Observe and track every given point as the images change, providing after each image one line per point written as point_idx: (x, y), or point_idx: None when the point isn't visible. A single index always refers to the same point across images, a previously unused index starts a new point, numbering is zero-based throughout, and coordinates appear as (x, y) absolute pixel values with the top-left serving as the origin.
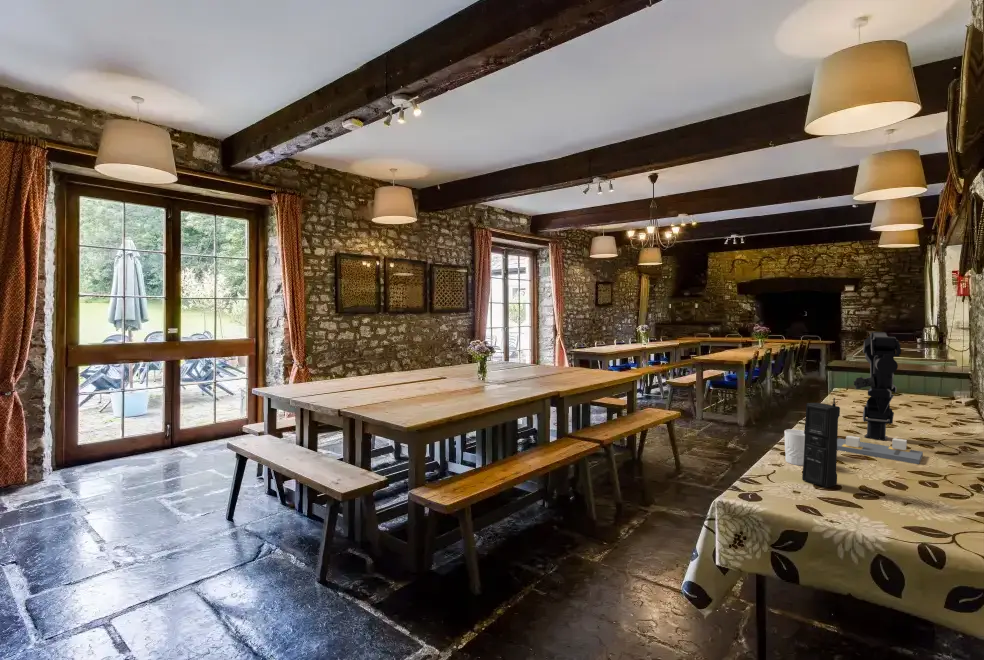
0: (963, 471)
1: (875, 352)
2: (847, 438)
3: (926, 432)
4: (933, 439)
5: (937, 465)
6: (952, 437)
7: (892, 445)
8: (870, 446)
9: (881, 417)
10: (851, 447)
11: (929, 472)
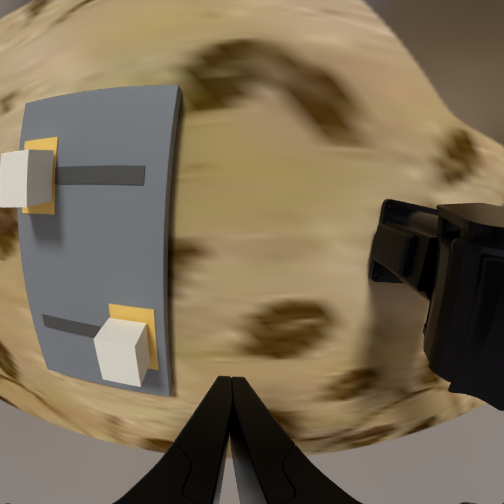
0: (84, 424)
1: None
2: (4, 160)
3: None
4: None
5: (85, 396)
6: None
7: (104, 325)
8: (94, 238)
9: (429, 314)
10: None
11: (12, 363)
